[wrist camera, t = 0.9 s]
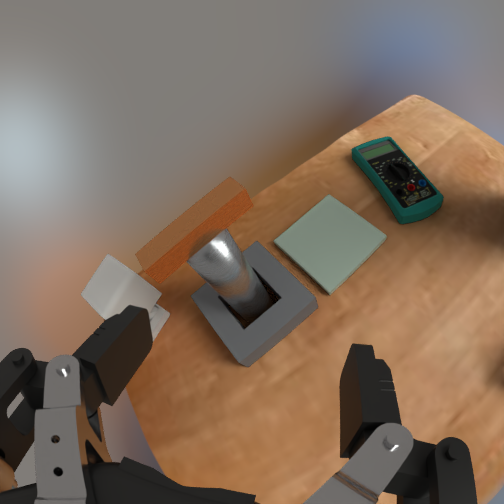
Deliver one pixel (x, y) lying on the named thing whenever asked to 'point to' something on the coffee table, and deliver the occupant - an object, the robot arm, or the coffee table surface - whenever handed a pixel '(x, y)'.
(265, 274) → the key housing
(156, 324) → the security camera
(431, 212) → the digital multimeter
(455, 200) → the coffee table surface
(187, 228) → the t key
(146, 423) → the coffee table surface
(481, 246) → the coffee table surface
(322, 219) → the pad
